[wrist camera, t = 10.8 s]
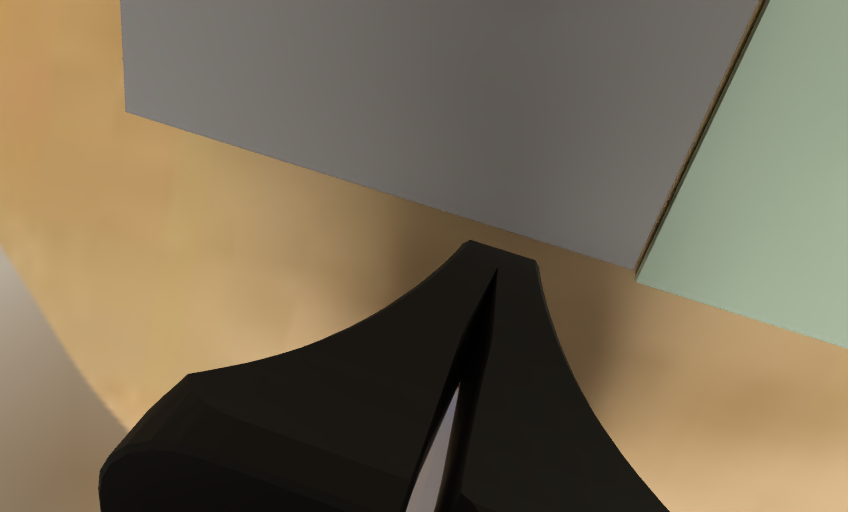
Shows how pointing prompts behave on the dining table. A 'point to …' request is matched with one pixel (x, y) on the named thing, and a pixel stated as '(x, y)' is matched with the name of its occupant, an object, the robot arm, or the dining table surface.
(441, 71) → the grey flat slab
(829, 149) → the mat
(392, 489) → the robot arm
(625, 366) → the dining table surface
